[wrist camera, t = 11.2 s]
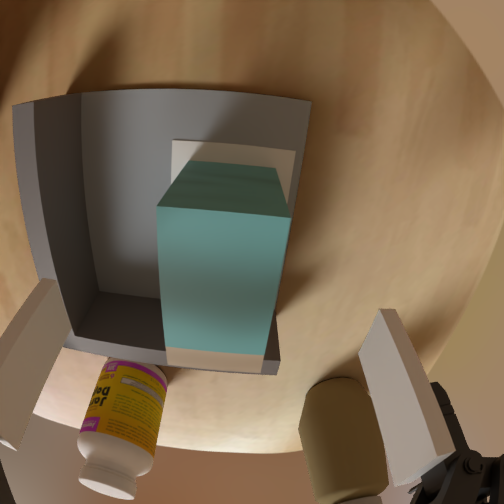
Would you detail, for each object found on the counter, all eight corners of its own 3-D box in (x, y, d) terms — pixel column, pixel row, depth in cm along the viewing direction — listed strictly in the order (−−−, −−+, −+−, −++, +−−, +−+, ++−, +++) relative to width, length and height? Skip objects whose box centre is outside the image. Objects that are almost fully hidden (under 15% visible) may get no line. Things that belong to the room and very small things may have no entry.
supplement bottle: (118, 340, 25) (75, 468, 14) (180, 373, 28) (161, 500, 17) (97, 371, 28) (61, 478, 17) (151, 399, 30) (130, 505, 19)
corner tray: (65, 94, 15) (12, 105, 10) (310, 101, 16) (335, 108, 11) (88, 300, 23) (62, 346, 18) (271, 320, 24) (276, 375, 19)
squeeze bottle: (299, 417, 32) (314, 562, 16) (289, 378, 28) (307, 563, 12) (368, 402, 31) (401, 543, 16) (372, 360, 27) (421, 535, 12)
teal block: (257, 293, 22) (260, 372, 16) (186, 287, 22) (167, 364, 16) (275, 168, 18) (291, 217, 12) (188, 160, 17) (156, 206, 11)
